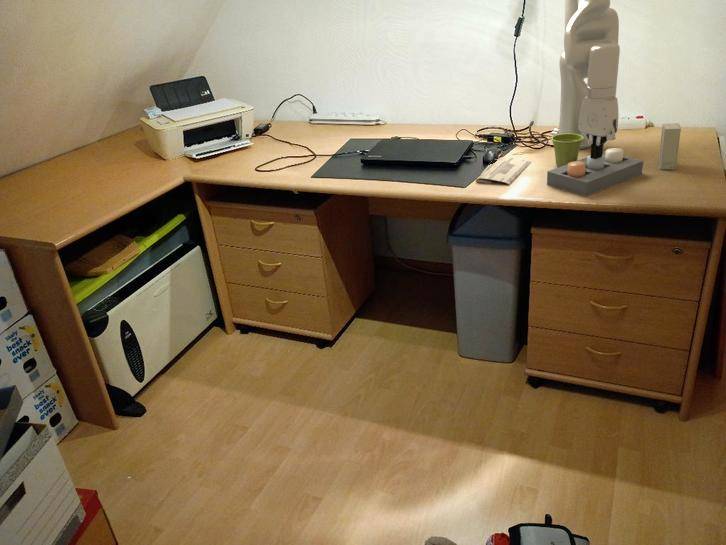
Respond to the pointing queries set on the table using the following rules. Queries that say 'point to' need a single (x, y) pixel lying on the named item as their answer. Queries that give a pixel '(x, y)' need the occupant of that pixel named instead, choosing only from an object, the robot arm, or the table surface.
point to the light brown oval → (576, 169)
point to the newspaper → (503, 170)
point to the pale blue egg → (595, 163)
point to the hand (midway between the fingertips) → (596, 157)
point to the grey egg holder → (595, 176)
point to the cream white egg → (614, 155)
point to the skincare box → (669, 146)
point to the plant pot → (566, 148)
